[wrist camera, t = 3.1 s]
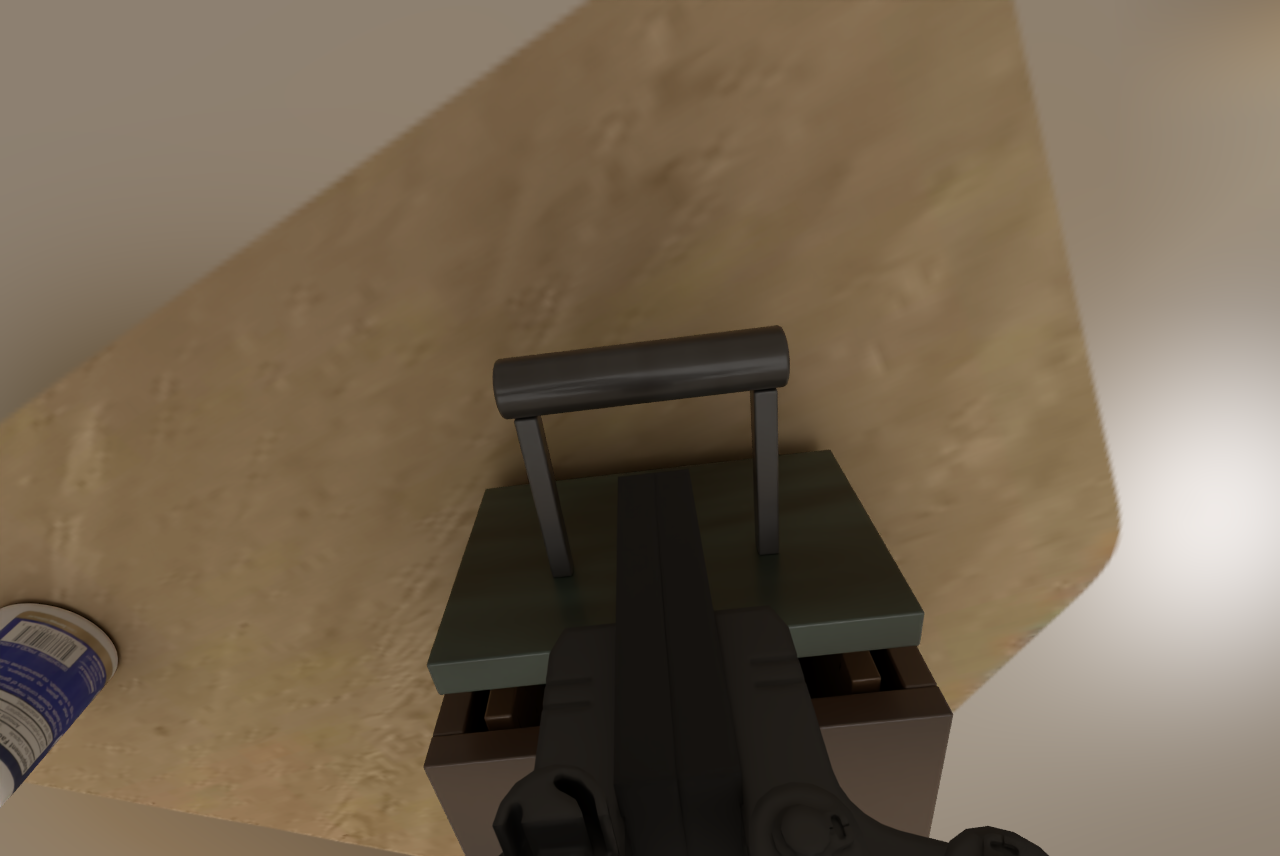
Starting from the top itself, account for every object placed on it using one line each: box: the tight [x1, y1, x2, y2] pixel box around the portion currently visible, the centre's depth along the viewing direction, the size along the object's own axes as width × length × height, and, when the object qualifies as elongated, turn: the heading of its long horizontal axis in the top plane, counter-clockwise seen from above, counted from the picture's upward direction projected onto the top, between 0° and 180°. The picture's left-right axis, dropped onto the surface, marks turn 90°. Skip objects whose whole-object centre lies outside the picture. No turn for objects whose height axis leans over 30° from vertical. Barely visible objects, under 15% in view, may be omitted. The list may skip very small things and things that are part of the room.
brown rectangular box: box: [424, 646, 953, 856], centre depth 24 cm, size 15×14×10 cm
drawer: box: [427, 325, 924, 731], centre depth 21 cm, size 20×13×8 cm, turn 7°
